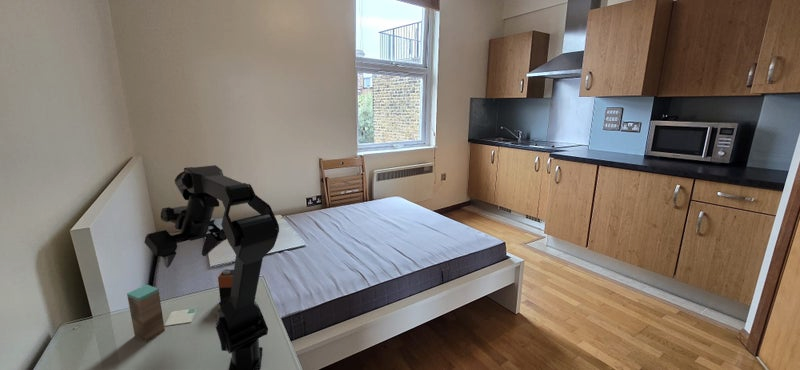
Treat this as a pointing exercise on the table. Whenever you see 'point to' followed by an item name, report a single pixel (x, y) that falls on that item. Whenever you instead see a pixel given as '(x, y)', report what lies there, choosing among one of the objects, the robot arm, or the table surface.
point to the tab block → (146, 312)
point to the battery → (225, 283)
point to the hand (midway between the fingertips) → (185, 260)
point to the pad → (180, 317)
